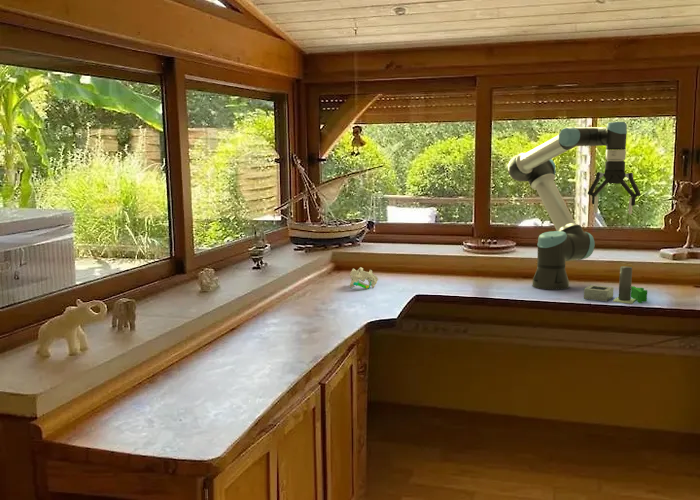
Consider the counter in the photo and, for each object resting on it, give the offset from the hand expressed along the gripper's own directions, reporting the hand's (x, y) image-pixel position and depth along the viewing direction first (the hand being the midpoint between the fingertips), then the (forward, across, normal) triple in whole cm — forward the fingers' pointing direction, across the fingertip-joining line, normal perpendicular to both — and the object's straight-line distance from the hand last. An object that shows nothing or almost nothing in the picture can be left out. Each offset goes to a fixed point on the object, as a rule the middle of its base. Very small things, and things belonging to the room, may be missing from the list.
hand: (612, 213), depth 288 cm
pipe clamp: (+33, +14, -10) cm, 37 cm away
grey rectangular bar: (+32, +10, -15) cm, 37 cm away
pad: (+33, +10, -15) cm, 37 cm away
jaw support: (+33, -92, -48) cm, 109 cm away
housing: (+33, 0, -14) cm, 36 cm away
